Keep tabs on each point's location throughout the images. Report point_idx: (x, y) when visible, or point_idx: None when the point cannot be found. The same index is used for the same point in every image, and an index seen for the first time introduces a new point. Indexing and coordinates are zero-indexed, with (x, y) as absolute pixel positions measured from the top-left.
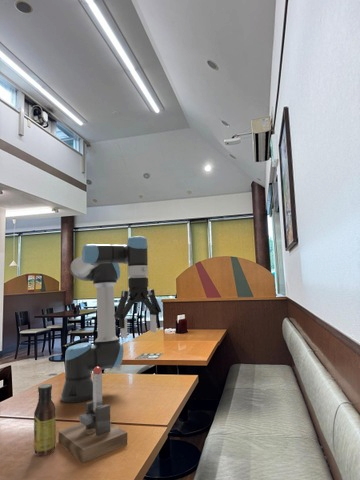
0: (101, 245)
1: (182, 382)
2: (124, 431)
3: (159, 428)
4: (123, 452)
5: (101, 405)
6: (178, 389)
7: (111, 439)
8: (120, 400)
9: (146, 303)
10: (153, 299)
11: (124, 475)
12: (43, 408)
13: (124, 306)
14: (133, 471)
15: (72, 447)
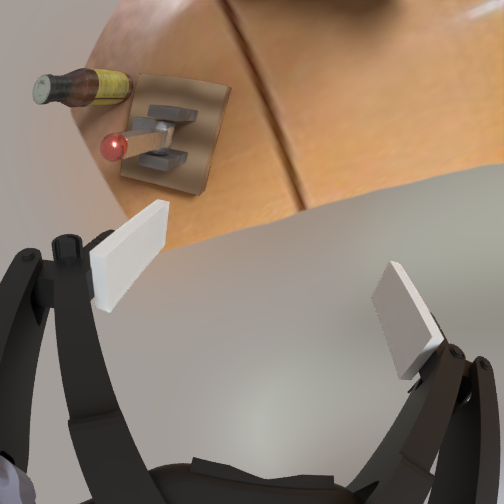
0: None
1: None
2: (199, 188)
3: (286, 206)
4: (181, 203)
5: (159, 150)
6: (483, 144)
7: (167, 186)
8: (379, 34)
9: (376, 461)
10: (434, 491)
11: None
12: (61, 102)
13: (34, 378)
14: None
15: None
